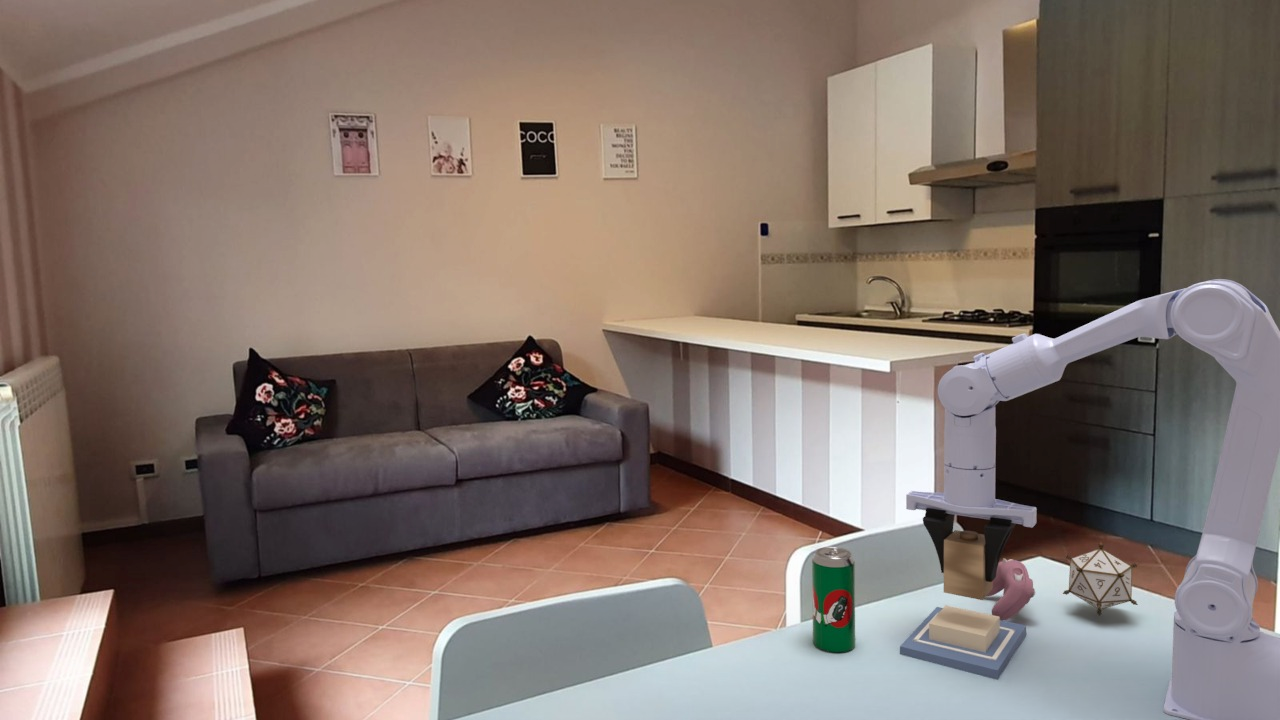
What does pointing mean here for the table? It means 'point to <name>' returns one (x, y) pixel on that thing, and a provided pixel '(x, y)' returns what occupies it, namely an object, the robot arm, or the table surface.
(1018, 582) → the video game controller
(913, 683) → the table surface
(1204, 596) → the robot arm
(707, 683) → the table surface
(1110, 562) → the game die
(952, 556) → the oak block
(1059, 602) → the table surface
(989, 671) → the blueprint board
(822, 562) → the soda can
